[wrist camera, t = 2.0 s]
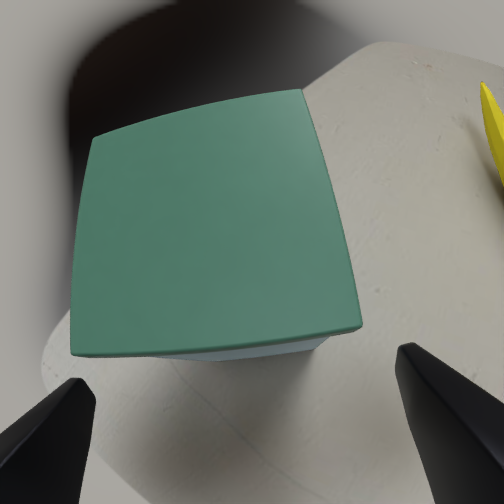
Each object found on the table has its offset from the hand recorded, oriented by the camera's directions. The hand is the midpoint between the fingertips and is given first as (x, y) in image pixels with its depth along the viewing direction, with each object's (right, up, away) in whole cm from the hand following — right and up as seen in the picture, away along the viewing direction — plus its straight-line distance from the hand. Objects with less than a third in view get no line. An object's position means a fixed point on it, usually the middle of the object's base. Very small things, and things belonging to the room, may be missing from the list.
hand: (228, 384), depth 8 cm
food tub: (+1, 0, +11) cm, 11 cm away
